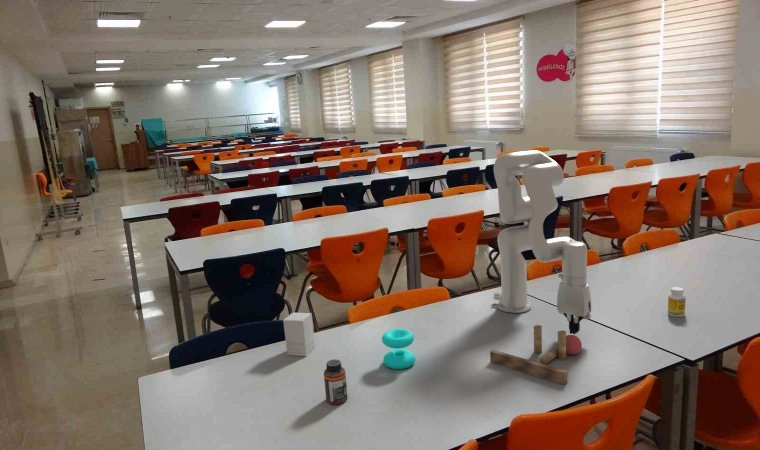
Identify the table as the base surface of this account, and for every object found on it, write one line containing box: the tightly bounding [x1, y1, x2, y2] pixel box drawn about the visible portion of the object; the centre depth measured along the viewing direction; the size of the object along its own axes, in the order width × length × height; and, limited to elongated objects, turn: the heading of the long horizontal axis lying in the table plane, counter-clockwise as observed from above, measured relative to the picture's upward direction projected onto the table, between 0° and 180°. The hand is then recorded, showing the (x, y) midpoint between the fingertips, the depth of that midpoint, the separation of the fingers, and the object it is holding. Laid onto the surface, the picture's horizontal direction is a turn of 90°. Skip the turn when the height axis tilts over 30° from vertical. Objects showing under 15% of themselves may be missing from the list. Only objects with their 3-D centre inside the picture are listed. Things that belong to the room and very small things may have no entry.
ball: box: [566, 334, 583, 356], centre depth 169 cm, size 6×6×6 cm
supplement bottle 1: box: [323, 358, 348, 406], centre depth 150 cm, size 6×6×11 cm
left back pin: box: [533, 324, 543, 354], centre depth 172 cm, size 2×2×8 cm
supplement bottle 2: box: [667, 286, 686, 318], centre depth 193 cm, size 5×5×10 cm
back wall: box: [489, 349, 568, 385], centre depth 160 cm, size 24×2×4 cm, turn 46°
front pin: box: [539, 346, 558, 365], centre depth 167 cm, size 2×2×8 cm
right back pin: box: [557, 330, 567, 361], centre depth 166 cm, size 2×2×8 cm
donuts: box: [381, 328, 416, 370], centre depth 170 cm, size 10×10×10 cm
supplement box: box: [282, 312, 316, 357], centre depth 183 cm, size 7×7×13 cm
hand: (574, 332), depth 181 cm, fingers closed
